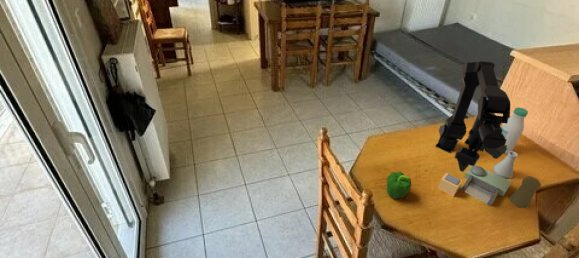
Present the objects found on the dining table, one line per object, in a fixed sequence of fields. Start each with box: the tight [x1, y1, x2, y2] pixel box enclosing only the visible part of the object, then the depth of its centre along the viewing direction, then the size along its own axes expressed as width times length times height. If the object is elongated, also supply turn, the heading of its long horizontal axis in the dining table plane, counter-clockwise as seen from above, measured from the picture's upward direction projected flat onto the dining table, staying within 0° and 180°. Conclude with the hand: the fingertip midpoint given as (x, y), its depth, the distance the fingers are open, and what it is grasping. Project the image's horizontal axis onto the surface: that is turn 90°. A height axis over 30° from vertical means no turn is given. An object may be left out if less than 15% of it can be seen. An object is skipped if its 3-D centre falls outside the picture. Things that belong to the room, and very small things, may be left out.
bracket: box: [460, 175, 500, 207], centre depth 116 cm, size 10×8×2 cm
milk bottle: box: [500, 106, 529, 155], centre depth 131 cm, size 8×8×20 cm
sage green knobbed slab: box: [463, 164, 512, 197], centre depth 120 cm, size 14×7×4 cm, turn 46°
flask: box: [492, 150, 519, 179], centre depth 122 cm, size 7×7×10 cm
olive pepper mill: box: [509, 176, 542, 209], centre depth 110 cm, size 6×6×11 cm
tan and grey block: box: [437, 172, 463, 197], centre depth 117 cm, size 6×4×6 cm
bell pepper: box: [386, 171, 412, 199], centre depth 114 cm, size 8×8×10 cm
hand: (466, 164), depth 111 cm, fingers open, 9 cm apart
